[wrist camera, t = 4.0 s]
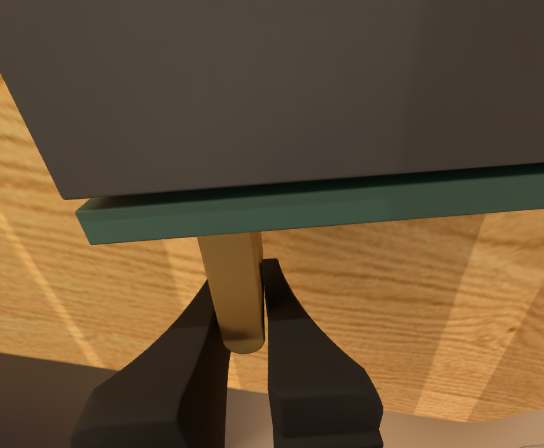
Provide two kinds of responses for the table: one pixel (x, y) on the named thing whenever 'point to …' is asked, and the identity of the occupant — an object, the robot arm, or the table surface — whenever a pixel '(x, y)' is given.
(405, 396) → the table surface
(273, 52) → the cubby
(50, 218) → the table surface
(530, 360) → the table surface
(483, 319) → the table surface
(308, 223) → the cubby door
